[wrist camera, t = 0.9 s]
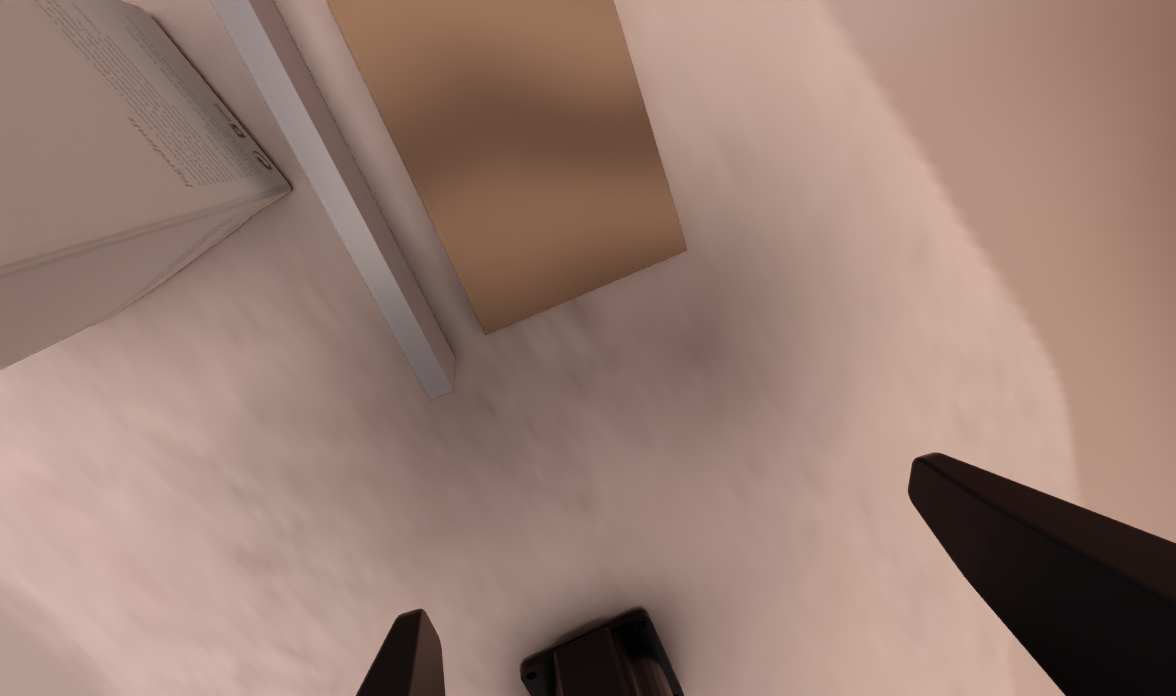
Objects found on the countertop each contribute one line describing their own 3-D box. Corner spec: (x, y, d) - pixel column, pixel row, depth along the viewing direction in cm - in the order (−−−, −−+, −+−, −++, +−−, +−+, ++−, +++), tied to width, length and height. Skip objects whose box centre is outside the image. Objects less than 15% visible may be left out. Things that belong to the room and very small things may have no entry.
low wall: (455, 358, 20) (453, 390, 17) (435, 367, 20) (429, 400, 17) (185, -172, 14) (116, -253, 11) (155, -161, 14) (78, -240, 11)
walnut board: (683, 248, 20) (687, 250, 20) (485, 331, 20) (485, 335, 20) (581, -93, 16) (583, -100, 16) (328, 1, 16) (325, -3, 15)
